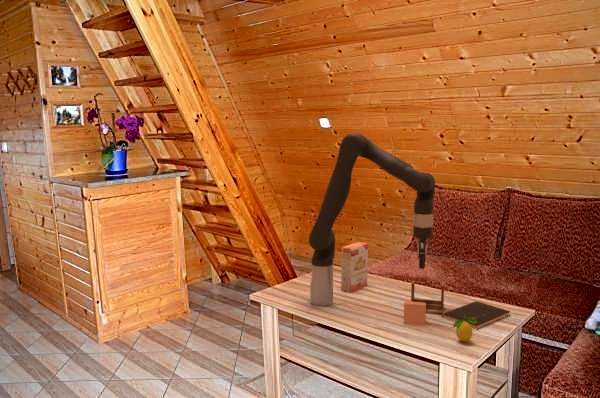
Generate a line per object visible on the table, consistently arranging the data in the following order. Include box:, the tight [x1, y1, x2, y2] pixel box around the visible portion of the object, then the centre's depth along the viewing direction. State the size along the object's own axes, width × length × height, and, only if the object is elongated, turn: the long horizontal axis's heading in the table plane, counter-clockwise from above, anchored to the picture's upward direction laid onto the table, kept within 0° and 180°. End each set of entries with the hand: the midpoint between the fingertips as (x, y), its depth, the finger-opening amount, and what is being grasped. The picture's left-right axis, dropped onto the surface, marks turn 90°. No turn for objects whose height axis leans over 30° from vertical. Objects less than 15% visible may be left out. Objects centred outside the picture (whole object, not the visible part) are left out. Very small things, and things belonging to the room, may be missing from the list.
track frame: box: [410, 280, 445, 316], centre depth 211 cm, size 13×12×11 cm
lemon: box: [452, 315, 477, 342], centre depth 179 cm, size 7×6×10 cm
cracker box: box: [340, 241, 369, 293], centre depth 238 cm, size 14×6×21 cm, turn 139°
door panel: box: [403, 300, 427, 326], centre depth 196 cm, size 8×3×8 cm, turn 74°
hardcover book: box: [440, 300, 511, 330], centre depth 203 cm, size 16×23×2 cm
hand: (422, 265), depth 199 cm, fingers open, 8 cm apart
